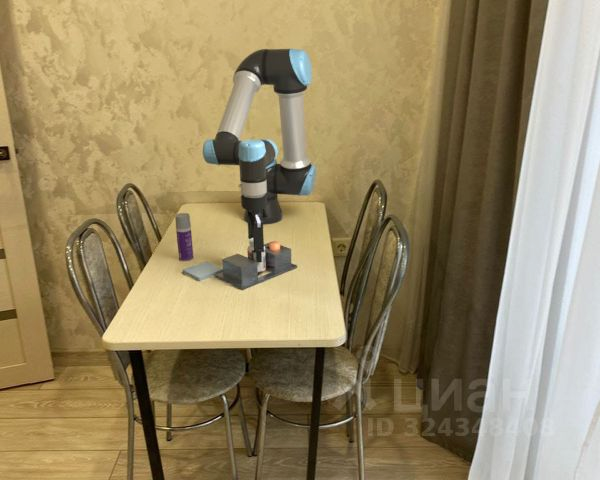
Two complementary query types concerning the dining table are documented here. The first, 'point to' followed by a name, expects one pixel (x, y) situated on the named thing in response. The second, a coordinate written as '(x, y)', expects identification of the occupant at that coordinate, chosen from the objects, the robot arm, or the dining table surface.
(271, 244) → the orange oval piece
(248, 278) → the housing
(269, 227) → the dining table surface
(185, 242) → the container
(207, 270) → the pad
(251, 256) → the pill bottle
